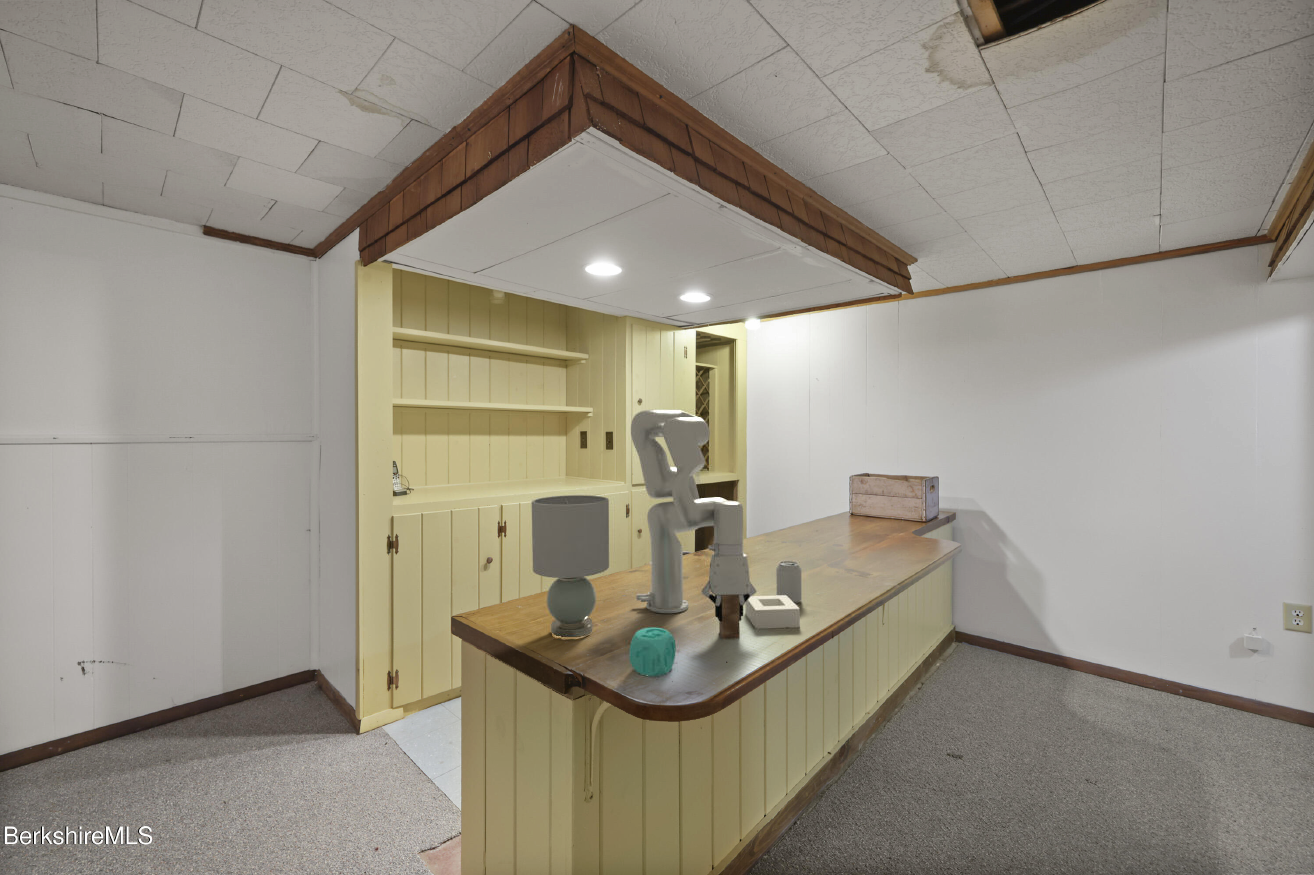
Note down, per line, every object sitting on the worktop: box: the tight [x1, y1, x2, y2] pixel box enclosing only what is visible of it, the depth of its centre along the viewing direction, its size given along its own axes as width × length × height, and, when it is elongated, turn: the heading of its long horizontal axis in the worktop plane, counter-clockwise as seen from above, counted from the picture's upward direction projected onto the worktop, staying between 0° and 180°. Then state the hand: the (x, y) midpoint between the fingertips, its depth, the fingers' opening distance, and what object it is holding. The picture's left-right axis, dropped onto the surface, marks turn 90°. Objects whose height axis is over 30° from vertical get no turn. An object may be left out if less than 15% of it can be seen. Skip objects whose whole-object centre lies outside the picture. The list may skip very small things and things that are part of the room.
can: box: [775, 560, 803, 605], centre depth 170 cm, size 8×8×12 cm
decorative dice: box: [628, 627, 677, 677], centre depth 123 cm, size 8×8×8 cm
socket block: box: [744, 594, 801, 629], centre depth 154 cm, size 12×12×5 cm
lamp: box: [531, 494, 610, 637], centre depth 146 cm, size 20×20×35 cm
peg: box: [718, 595, 741, 640], centre depth 143 cm, size 4×4×12 cm
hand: (729, 618), depth 143 cm, fingers closed on peg, 4 cm apart
